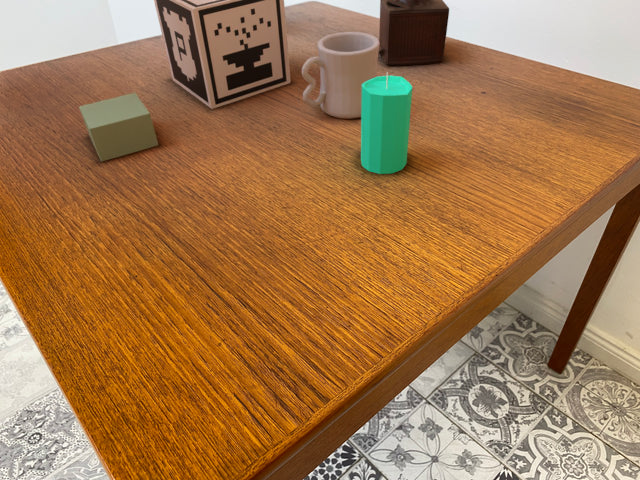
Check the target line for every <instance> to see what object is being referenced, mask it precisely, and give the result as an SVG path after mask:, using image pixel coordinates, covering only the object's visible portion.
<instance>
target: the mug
mask: <svg viewBox="0 0 640 480" xmlns="http://www.w3.org/2000/svg"><path fill="white" fill-rule="evenodd" d="M379 45H380V42H379V38H378V37H377V36H375V35H372V34H370V33H366V32H359V31H344V32H336V33H331V34H328V35H326V36H323V37H322V38H320V39H319V40H318V42H317V45H316V47H317V52H318V56H316V55H315V56H314V55H313V56H311V57H309V58H308V59H307V60H306V61H305V62H304V63H303V65H302V67H301V76H302V78H303V79H304V80H305V81H306V82H307V83H308V86H307V87H306V88H305V89H304V91H303V92H302V101H303V102H304V103H305V105H308V106H309V107H314V108H316V107H318V106H319V107H320V109H321V110H322V111H323V112H324V113H325V114H326V115H329V116H331V117H334V118H338V119H344V120H345V119H347V120H350V119H359V118H361V98H362V84H363V83H364V82H366V81H368V80H370V79H372V78H375V77H377V76H378V57H379ZM314 64H316V65H317V66H318V67H319V69H320V71H319V72H320V85H319V86H320V88H319V95H318V97H317V98H316V99H315V100H313V99H311V98H310V97H309V96H310V94H311V93H312V92H313V91H314V89H315V88H316V84H317V81H316V79H315V78H314V77H313V76H311V75H310V74H309V73H308V71H309V69H310V68H311V66H312V65H314Z"/></svg>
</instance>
